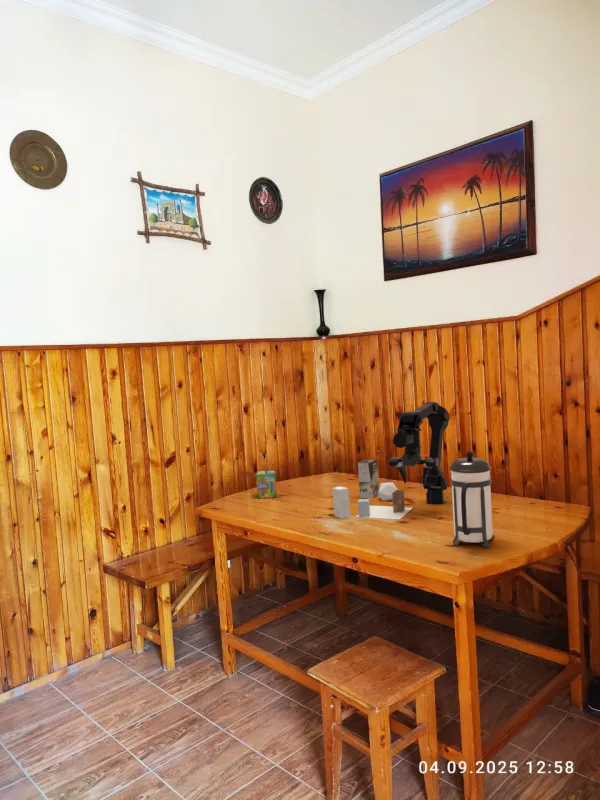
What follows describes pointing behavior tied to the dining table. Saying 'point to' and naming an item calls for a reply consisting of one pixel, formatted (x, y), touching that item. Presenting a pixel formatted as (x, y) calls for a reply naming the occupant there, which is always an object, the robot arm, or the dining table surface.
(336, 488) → the skincare box
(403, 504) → the walnut block
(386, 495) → the die
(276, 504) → the dining table surface
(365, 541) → the dining table surface
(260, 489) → the chalk box
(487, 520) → the coffee press
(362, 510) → the blue-grey block
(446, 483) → the robot arm
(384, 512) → the mat
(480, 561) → the dining table surface
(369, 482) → the coffee box
